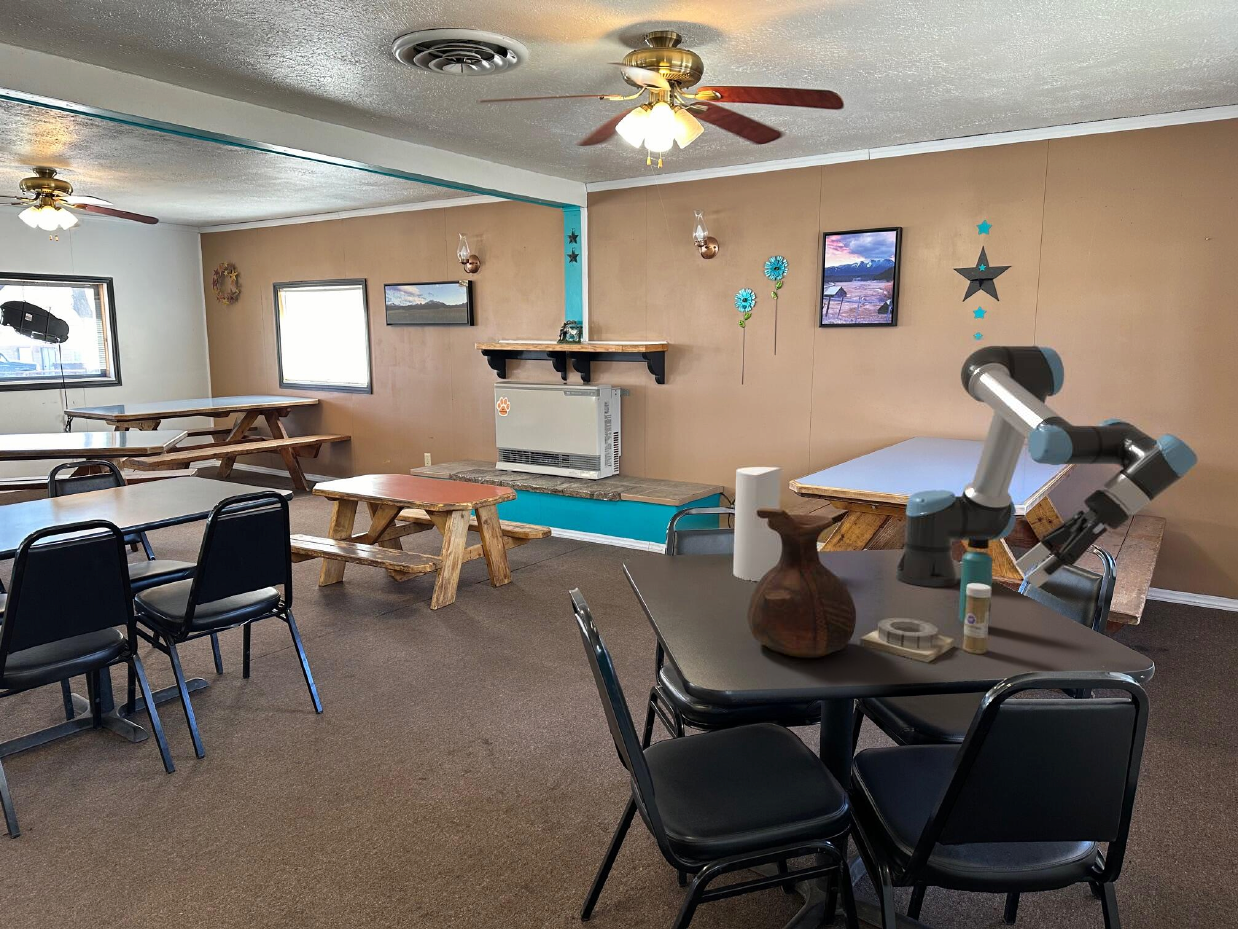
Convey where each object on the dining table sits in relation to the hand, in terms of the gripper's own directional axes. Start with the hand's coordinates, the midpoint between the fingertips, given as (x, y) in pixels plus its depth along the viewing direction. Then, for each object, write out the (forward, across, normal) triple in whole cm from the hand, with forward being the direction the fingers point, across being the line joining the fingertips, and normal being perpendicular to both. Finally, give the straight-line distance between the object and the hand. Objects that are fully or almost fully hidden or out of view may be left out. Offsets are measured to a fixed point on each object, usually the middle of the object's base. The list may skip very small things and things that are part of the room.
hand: (1024, 575), depth 165 cm
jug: (+41, -10, +19) cm, 46 cm away
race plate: (+26, -1, +4) cm, 27 cm away
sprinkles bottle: (+18, 0, -5) cm, 18 cm away
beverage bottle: (+16, +16, -6) cm, 24 cm away
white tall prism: (+49, +46, +31) cm, 74 cm away
